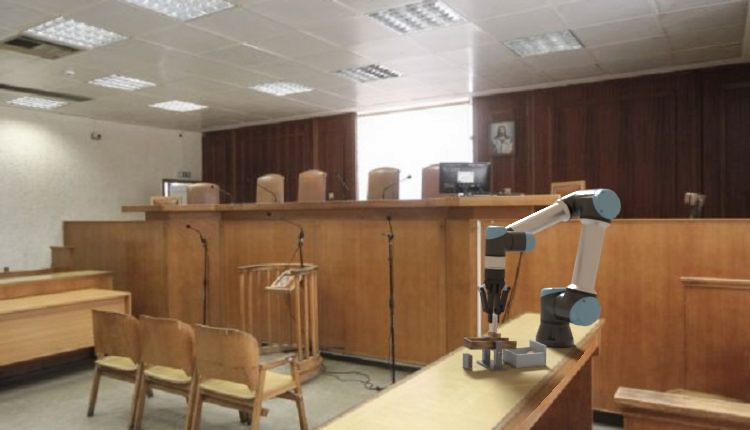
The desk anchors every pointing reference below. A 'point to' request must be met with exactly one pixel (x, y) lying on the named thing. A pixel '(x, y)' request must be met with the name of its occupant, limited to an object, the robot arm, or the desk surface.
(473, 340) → the lever
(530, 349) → the bin
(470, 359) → the fulcrum
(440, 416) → the desk surface
